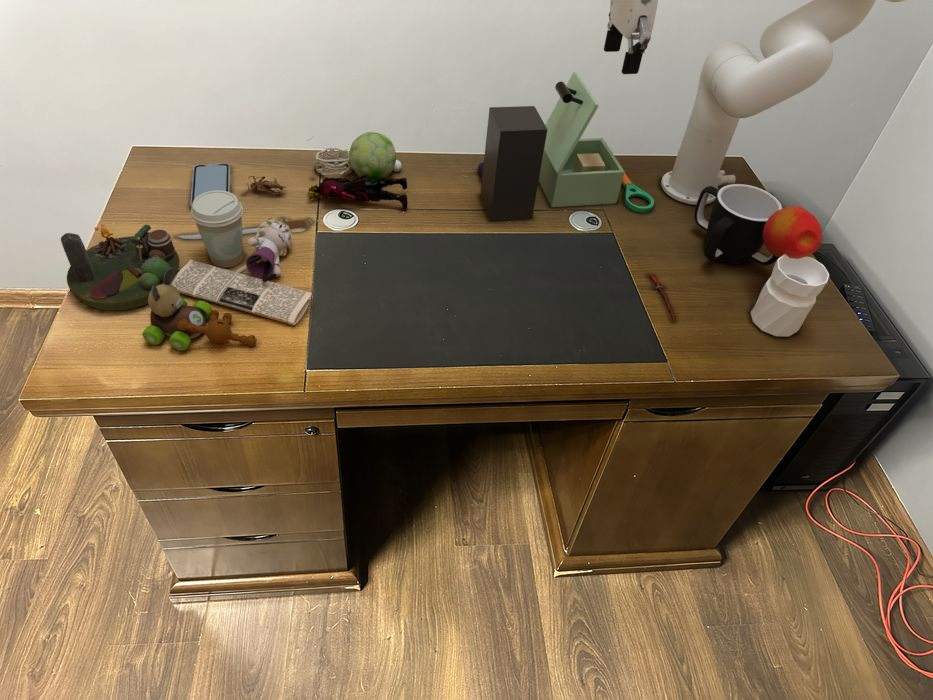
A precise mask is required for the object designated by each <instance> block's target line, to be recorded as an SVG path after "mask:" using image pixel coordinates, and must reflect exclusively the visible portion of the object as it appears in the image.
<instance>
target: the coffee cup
mask: <svg viewBox="0 0 933 700" xmlns="http://www.w3.org/2000/svg"><path fill="white" fill-rule="evenodd" d="M190 208H191V207H190ZM243 212H244V207H243V206H242V203H241V201H239V198H238V197H237V196H236V195H235V194H234V193H232V192H231V191H230V192H227V191H220V190H216V191H209V192H205V193H203V194H201V195H199V196H197V197H196V198H195V199H194V201H193V203H192V208H191V209H190V216H191V219H192V220H193V221H194V222H195V225H196V228H197V229H198V232H199V234H200V235H201V237H202V240H201V241H202V242H203V244H204V247H205V250H206V251H207V254H208V257H209V259H210V262H211V263H212V264H213V266H215V267H219V268H233V267H236V266H237V265H239V264H240V263H242V262H243V260H244V258H245V257H244V256H245V255H244V254H245V253H244V252H245V251H244V235H243V232H242V229H243V218H242V217H243V216H242V215H243Z"/></svg>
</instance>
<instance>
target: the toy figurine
mask: <svg viewBox="0 0 933 700" xmlns="http://www.w3.org/2000/svg"><path fill="white" fill-rule="evenodd" d="M219 316H220V311H219V310H217V309H212V310H211V312H210V314H209V318H208V319H209V320H210V321H209V322H208V323H207V324H206V326H205V327H204V326H196V325H195V324H193V323H189V322H188V321H187V320H186V319H182V320H181V321H179V324H178V329H180V330H188V331H192V332H194V331H196V332H198V333H201V334H204V335H205V336H206V338H207V339H208V340H209V341H211V342H212V343H217V344H222V343H225V342H226V341H228V340H229V341H233V342H238V343H240V344H244V345H248V346H250V347H255V346H256V344H257V339H258V338H256V335H254V334H250V335H244V334H243V335H242V334H241V335H239V334H237V333H235V332H232V329H231V325H230V323H231V322H232V319H233V315H232V313H230V312H225V313H223V316H222V319H221V318H219Z"/></svg>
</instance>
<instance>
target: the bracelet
mask: <svg viewBox="0 0 933 700" xmlns="http://www.w3.org/2000/svg"><path fill="white" fill-rule="evenodd" d="M335 150H336V152H335ZM328 151H330V153H329V152H328ZM349 151H350V150H348V149H342V148H339V147H333V146H332V147H326V148H324V149H323V150H320V151H318V152H316V154H315V157H314V158H315V162H314V163H315V168H316V169H315V170H316V172H317V173H319V174H320V175H322V176H326V177H327V176H328V177H329V176H335V175H339V176H342V175H344V176H345V175H346V176H347V175H349V174H351V173H352V172H353V171H354V170H353V169H352V167H351V164H350V159H349ZM323 154H325V155H323ZM343 157H345V158H343ZM333 158H334V159H333ZM347 165H348V166H347ZM323 166H324V168H322V167H323ZM320 167H321V168H320ZM324 169H325V171H329V170H331V171H334V172H324ZM339 170H342V171H339Z"/></svg>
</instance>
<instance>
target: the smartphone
mask: <svg viewBox="0 0 933 700" xmlns="http://www.w3.org/2000/svg"><path fill="white" fill-rule="evenodd" d="M216 190H220V191H227V192H230V193H231V165H230V164H229V163H227V162H223V163H221V162H220V163H207V164H206V163H205V164H203V163H202V164H195V165H193V168H192V181H191V191H190V192H191V193H190V208H192V203H193V201H194V199H195V198H196V197H197V196H199V195H201V194H203V193H205V192H209V191H216Z"/></svg>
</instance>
